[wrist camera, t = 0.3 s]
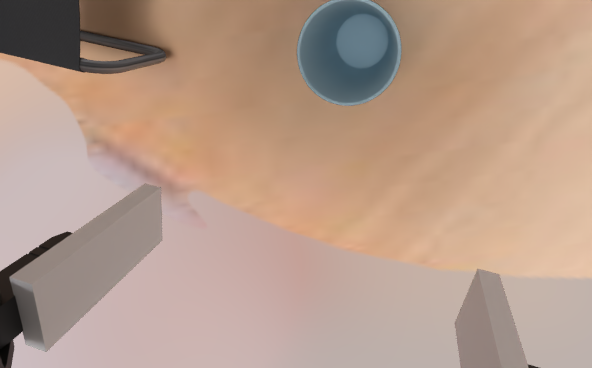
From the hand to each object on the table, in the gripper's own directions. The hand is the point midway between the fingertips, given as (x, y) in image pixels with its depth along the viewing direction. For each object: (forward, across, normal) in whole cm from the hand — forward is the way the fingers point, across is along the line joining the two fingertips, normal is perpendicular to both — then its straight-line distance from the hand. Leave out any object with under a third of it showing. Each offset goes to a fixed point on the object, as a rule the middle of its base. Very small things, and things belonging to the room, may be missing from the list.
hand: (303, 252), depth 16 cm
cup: (+28, -2, +6) cm, 28 cm away
